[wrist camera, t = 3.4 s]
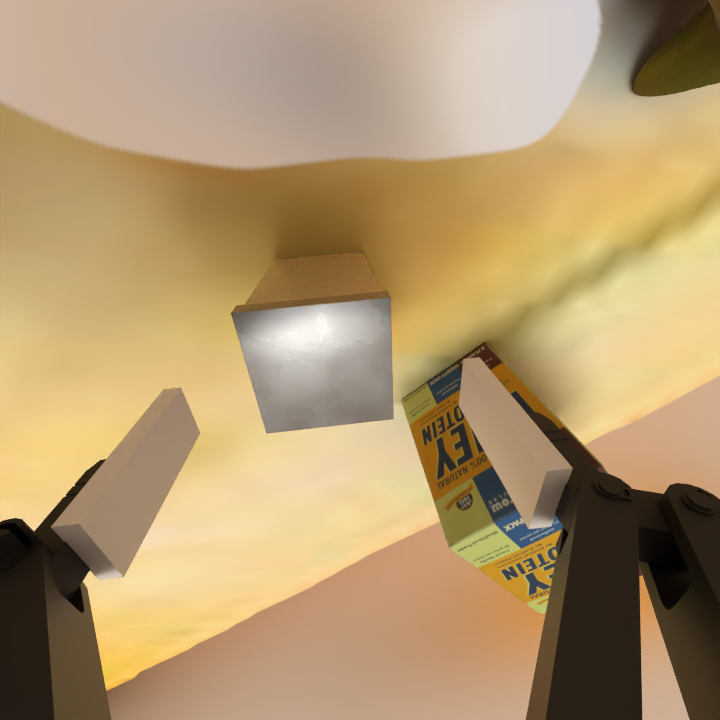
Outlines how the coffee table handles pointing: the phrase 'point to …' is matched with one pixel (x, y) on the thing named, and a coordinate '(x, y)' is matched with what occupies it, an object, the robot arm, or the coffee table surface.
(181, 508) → the coffee table surface
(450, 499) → the protein box
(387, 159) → the coffee table surface
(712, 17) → the frog statue
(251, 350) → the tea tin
